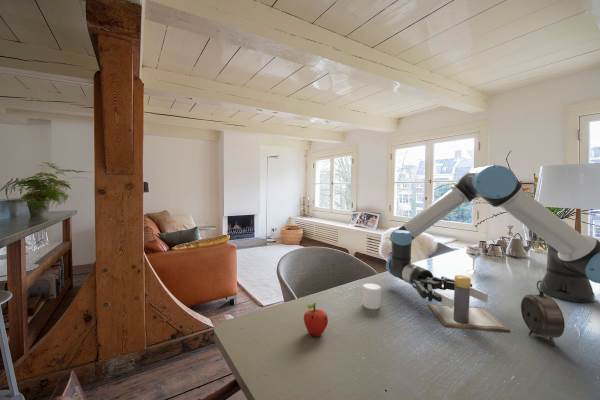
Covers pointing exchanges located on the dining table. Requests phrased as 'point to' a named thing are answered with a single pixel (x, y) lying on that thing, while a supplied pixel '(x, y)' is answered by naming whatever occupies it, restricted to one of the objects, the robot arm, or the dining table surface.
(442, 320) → the wooden picture frame
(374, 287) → the white cylinder
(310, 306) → the apple
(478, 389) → the dining table surface
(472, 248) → the wineglass
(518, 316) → the dining table surface
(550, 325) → the alarm clock
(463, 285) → the marker
